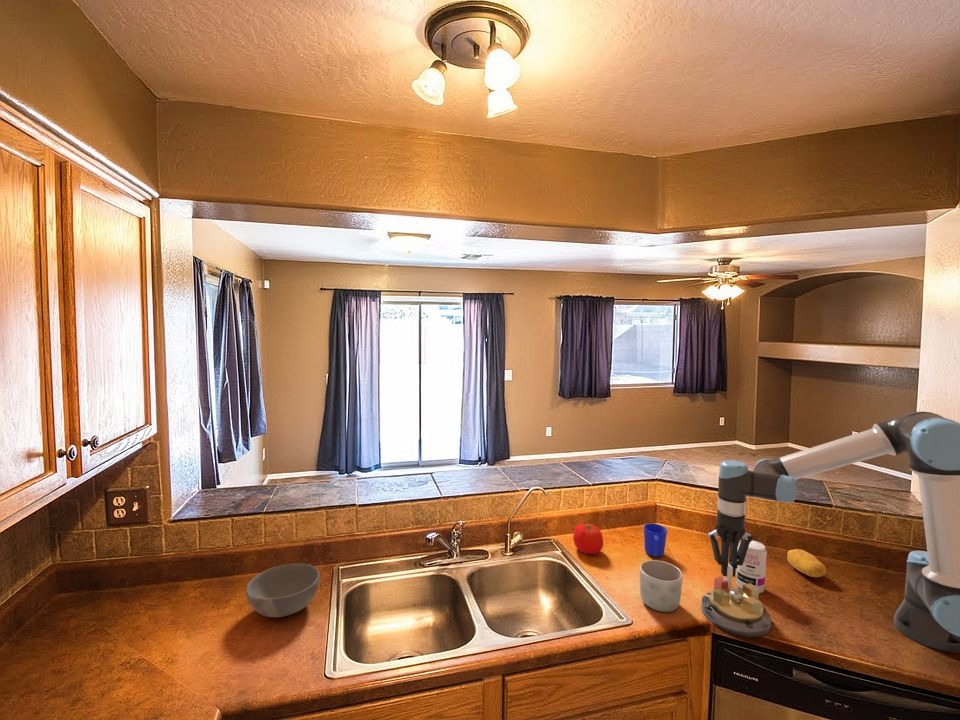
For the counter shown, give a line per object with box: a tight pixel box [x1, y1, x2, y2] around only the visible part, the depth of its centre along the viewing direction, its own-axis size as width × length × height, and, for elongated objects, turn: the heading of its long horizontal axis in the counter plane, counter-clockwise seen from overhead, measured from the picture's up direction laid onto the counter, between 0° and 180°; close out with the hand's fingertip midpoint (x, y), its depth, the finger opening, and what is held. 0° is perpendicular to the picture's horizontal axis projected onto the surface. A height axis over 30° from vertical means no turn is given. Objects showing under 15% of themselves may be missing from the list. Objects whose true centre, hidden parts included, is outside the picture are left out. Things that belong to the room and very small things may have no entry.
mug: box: [643, 523, 668, 558], centre depth 171 cm, size 8×12×10 cm
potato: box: [786, 548, 827, 578], centre depth 160 cm, size 8×14×7 cm, turn 1°
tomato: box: [572, 522, 604, 555], centre depth 174 cm, size 11×13×10 cm
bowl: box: [245, 562, 320, 618], centre depth 136 cm, size 20×20×10 cm
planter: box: [639, 559, 684, 613], centre depth 141 cm, size 12×12×11 cm
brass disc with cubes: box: [709, 576, 764, 623], centre depth 136 cm, size 14×14×6 cm
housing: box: [700, 589, 772, 638], centre depth 136 cm, size 18×18×8 cm
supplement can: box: [735, 539, 768, 594], centre depth 150 cm, size 8×8×15 cm
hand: (727, 585), depth 141 cm, fingers closed
